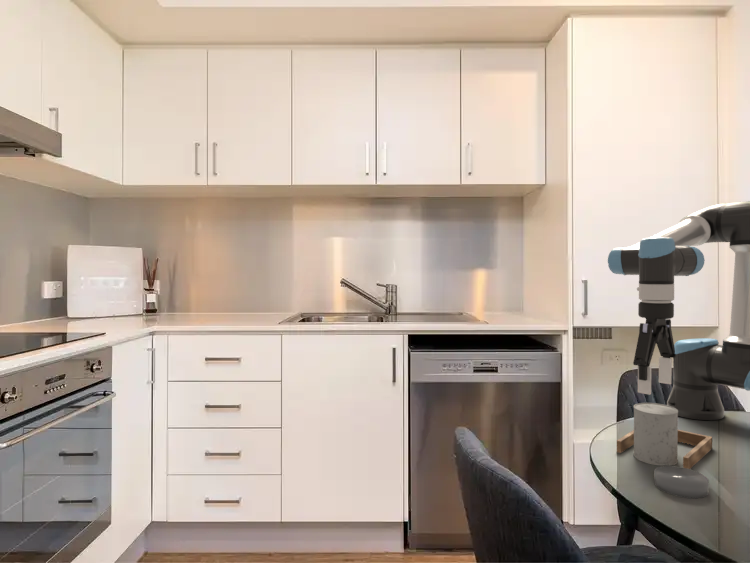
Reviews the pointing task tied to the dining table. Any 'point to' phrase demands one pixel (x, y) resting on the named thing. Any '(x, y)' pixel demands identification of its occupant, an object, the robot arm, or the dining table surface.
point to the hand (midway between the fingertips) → (655, 388)
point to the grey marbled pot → (655, 433)
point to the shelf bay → (691, 458)
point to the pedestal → (681, 482)
